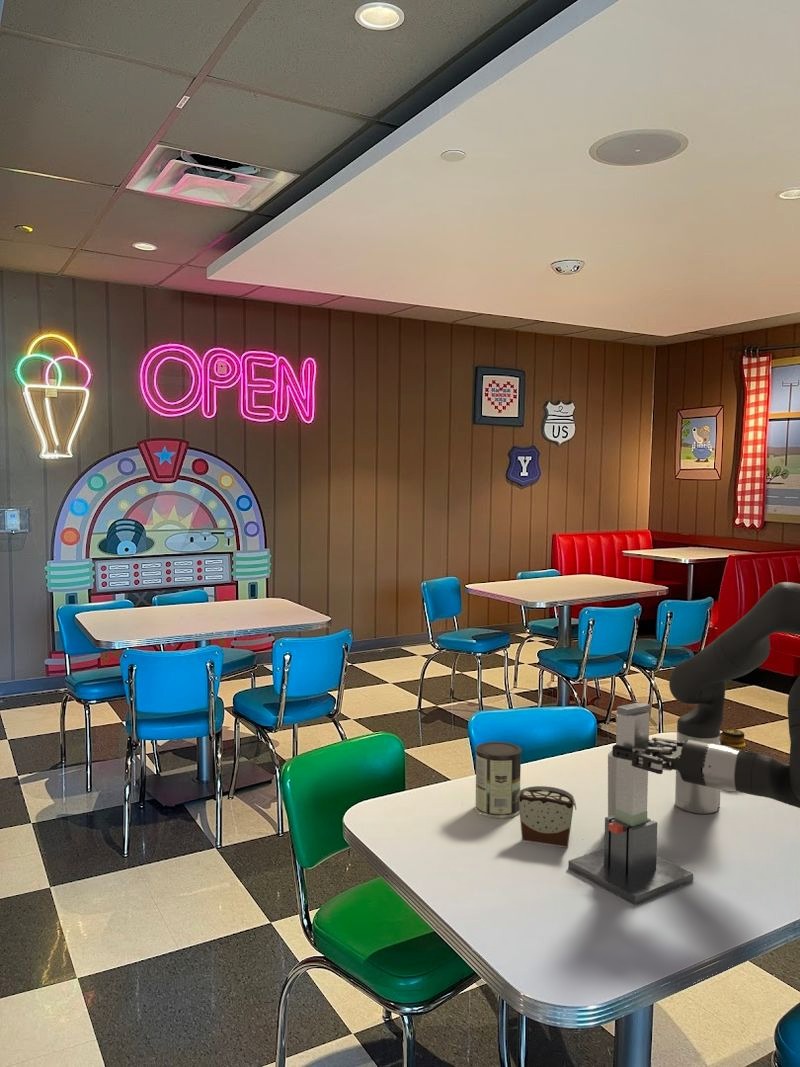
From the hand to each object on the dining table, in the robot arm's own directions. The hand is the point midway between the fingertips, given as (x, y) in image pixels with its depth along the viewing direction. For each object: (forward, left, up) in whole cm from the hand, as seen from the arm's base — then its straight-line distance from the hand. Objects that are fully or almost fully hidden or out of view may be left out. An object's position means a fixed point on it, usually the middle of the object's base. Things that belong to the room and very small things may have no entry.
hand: (619, 746), depth 149 cm
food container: (+1, -18, -24) cm, 30 cm away
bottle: (-14, -12, -24) cm, 30 cm away
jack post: (-1, +2, -15) cm, 15 cm away
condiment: (-63, -19, -24) cm, 70 cm away
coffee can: (0, -35, -24) cm, 42 cm away
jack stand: (-1, +2, -24) cm, 24 cm away
